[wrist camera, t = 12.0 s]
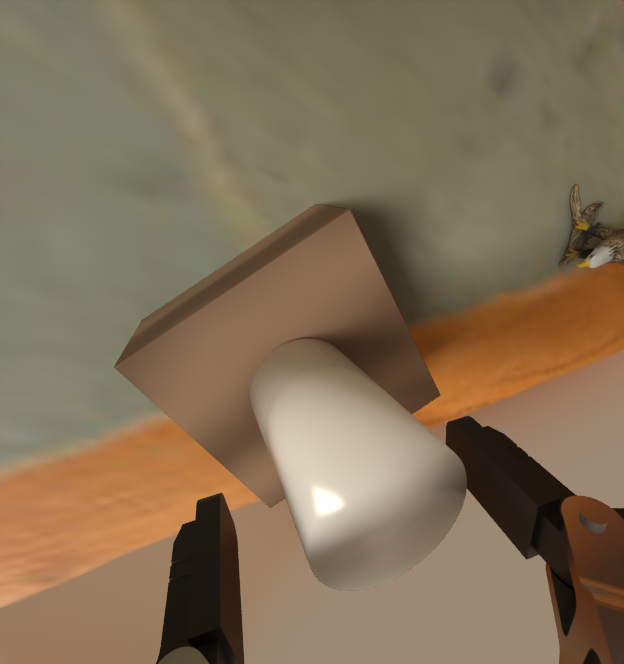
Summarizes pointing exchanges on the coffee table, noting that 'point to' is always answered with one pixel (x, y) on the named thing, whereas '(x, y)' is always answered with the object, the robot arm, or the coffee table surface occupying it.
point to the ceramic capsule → (353, 466)
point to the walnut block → (272, 336)
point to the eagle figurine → (611, 250)
